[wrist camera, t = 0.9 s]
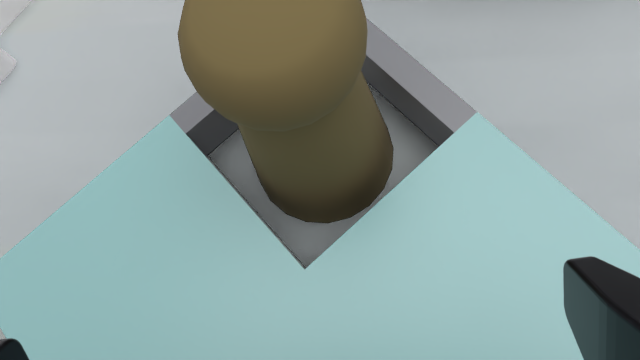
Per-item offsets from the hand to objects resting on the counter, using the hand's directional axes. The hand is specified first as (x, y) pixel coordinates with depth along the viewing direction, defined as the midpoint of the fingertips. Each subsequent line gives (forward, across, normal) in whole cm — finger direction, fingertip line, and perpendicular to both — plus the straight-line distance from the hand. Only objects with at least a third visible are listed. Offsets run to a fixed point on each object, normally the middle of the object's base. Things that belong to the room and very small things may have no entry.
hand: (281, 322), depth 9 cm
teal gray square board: (+11, +2, +8) cm, 13 cm away
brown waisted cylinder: (+15, 0, +3) cm, 16 cm away
